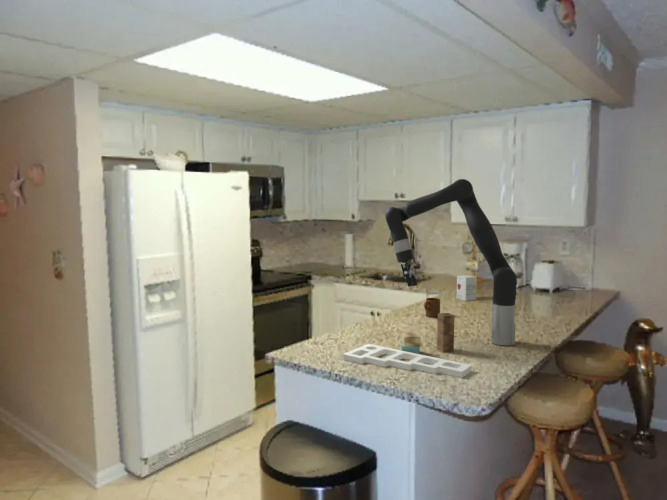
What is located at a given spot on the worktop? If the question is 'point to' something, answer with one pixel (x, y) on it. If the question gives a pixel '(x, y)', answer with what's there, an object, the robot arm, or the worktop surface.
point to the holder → (416, 362)
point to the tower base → (411, 349)
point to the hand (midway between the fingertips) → (413, 285)
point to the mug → (432, 307)
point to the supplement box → (466, 287)
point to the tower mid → (411, 339)
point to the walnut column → (445, 332)
